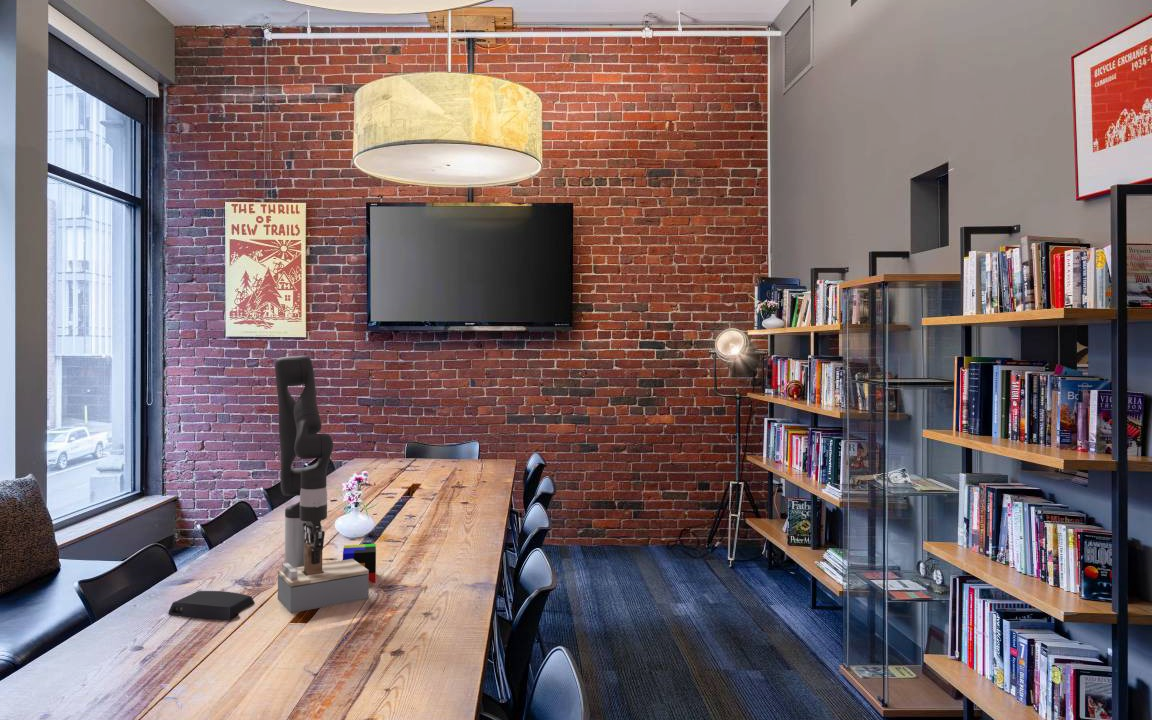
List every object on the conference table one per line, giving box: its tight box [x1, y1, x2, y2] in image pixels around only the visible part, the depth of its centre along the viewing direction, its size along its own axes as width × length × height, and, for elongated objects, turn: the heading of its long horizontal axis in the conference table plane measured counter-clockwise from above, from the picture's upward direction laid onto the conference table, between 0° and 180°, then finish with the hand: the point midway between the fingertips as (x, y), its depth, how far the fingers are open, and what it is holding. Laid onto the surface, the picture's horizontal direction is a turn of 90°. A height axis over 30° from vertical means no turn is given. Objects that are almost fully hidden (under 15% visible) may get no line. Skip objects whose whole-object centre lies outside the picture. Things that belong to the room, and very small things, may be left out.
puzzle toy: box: [342, 543, 377, 584], centre depth 239 cm, size 10×10×10 cm
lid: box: [277, 559, 369, 587], centre depth 217 cm, size 14×22×3 cm, turn 125°
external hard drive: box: [167, 590, 255, 622], centre depth 210 cm, size 13×19×4 cm
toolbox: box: [277, 574, 370, 614], centre depth 218 cm, size 14×22×8 cm, turn 125°
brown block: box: [304, 543, 323, 576], centre depth 216 cm, size 4×4×15 cm
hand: (313, 561), depth 216 cm, fingers closed on brown block, 4 cm apart
